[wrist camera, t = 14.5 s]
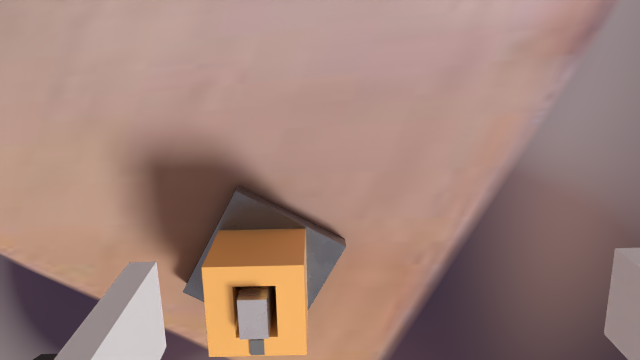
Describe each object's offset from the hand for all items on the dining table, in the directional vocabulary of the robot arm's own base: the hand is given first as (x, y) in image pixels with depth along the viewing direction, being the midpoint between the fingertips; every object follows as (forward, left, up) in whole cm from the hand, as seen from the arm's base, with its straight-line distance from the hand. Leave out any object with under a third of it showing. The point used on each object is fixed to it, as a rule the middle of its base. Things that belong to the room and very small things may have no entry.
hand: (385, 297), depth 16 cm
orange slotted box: (+6, -12, -27) cm, 30 cm away
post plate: (+6, -12, -29) cm, 32 cm away
